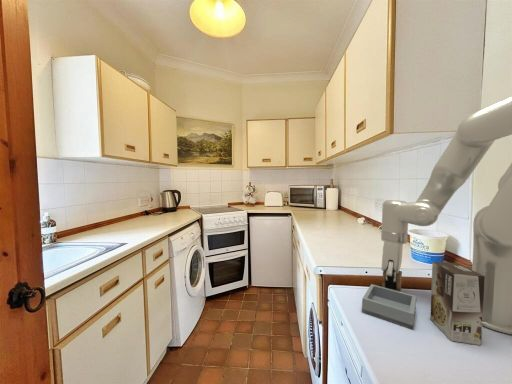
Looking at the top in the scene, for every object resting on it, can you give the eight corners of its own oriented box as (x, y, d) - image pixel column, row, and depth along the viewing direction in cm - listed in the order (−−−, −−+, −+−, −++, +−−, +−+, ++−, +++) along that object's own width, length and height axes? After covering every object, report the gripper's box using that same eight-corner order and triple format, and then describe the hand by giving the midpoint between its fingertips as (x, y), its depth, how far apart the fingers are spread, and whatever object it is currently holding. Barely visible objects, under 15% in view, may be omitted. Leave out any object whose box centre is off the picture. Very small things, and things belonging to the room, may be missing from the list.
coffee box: (482, 346, 51) (487, 276, 51) (450, 341, 52) (454, 273, 52) (456, 322, 60) (459, 262, 60) (428, 318, 61) (431, 260, 61)
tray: (415, 309, 66) (416, 295, 66) (413, 329, 56) (413, 314, 56) (370, 296, 73) (371, 284, 73) (361, 312, 64) (362, 298, 64)
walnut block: (401, 291, 77) (401, 270, 77) (399, 297, 73) (400, 275, 73) (384, 287, 80) (385, 267, 80) (382, 292, 76) (382, 271, 76)
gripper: (385, 231, 85) (383, 278, 86) (376, 239, 71) (374, 295, 72) (409, 234, 80) (406, 284, 81) (404, 243, 67) (402, 303, 68)
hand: (391, 289), depth 77 cm, fingers closed on walnut block, 5 cm apart
